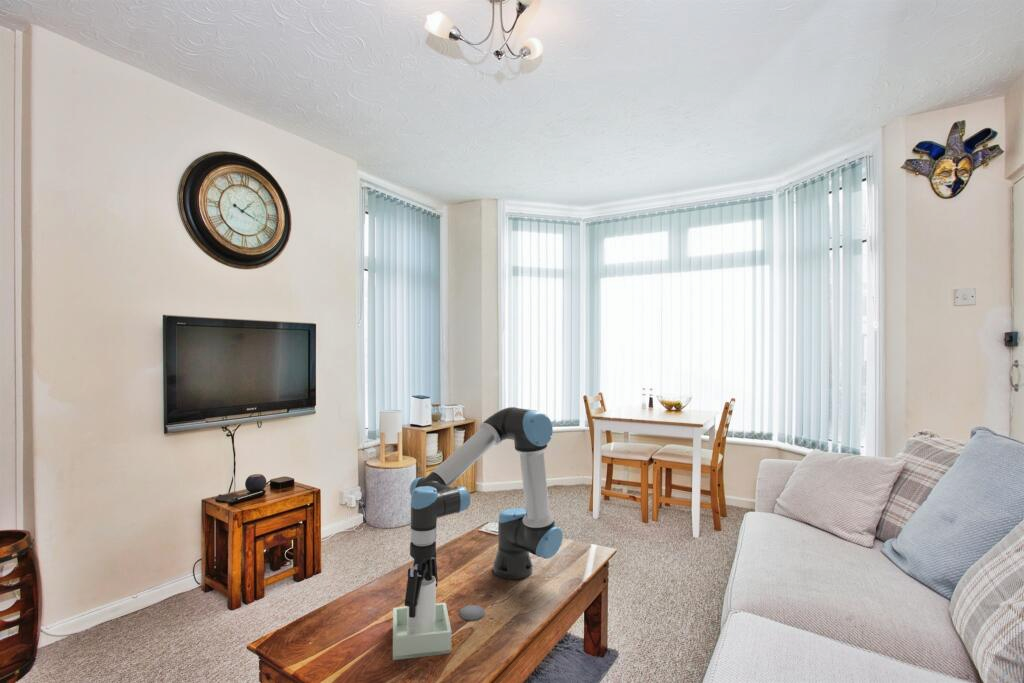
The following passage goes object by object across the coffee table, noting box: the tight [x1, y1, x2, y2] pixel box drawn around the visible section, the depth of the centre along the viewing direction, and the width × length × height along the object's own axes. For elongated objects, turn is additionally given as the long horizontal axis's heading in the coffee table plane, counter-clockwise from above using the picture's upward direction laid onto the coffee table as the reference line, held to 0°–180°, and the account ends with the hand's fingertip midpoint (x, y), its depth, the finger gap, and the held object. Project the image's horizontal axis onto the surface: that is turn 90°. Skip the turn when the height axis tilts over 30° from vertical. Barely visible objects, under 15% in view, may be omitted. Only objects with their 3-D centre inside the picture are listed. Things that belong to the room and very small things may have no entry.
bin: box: [392, 602, 453, 661], centre depth 145 cm, size 16×16×6 cm
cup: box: [407, 575, 437, 635], centre depth 146 cm, size 8×8×16 cm
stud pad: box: [459, 604, 486, 621], centre depth 160 cm, size 8×8×1 cm
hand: (421, 617), depth 145 cm, fingers open, 9 cm apart
